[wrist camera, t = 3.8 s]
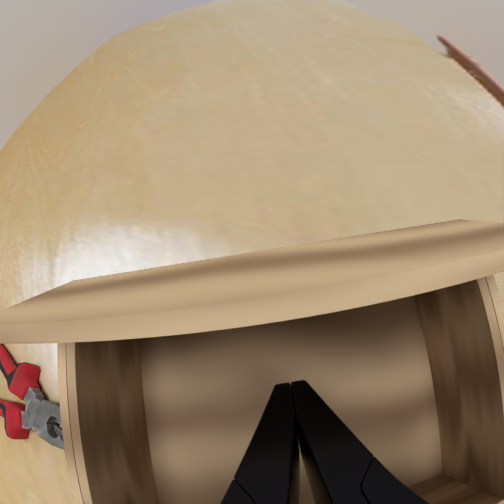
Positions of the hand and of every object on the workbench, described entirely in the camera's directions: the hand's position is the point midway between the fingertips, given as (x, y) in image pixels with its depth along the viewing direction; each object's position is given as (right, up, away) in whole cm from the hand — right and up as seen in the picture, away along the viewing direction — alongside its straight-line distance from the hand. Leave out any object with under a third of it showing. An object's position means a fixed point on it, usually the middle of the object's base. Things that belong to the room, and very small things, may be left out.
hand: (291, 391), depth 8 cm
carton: (+2, -8, +11) cm, 14 cm away
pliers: (-24, -10, +14) cm, 29 cm away
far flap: (0, +3, +3) cm, 4 cm away
